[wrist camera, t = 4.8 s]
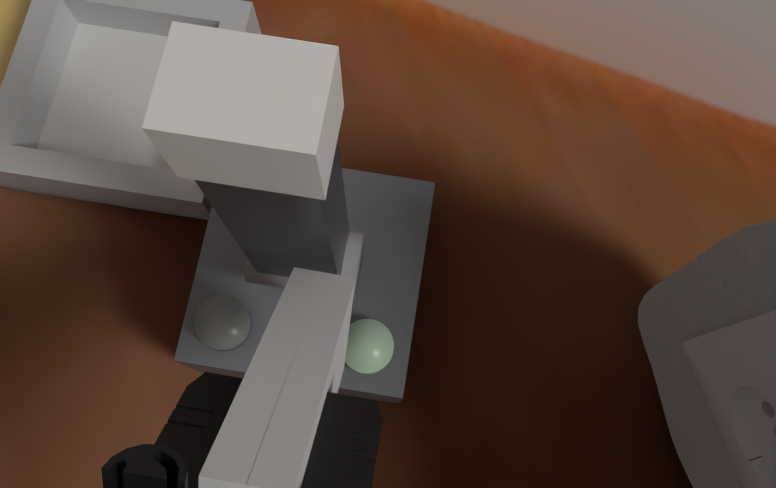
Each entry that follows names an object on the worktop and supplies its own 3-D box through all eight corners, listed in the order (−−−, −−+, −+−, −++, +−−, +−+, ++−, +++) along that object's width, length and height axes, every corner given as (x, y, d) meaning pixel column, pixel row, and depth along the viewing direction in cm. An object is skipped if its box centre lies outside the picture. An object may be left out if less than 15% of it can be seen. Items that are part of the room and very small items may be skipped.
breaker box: (198, 370, 24) (167, 358, 20) (242, 183, 26) (221, 142, 22) (399, 404, 23) (403, 396, 20) (428, 212, 25) (436, 175, 22)
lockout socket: (-64, 177, 25) (-99, 155, 24) (5, -6, 28) (-23, -39, 26) (215, 221, 25) (201, 203, 23) (261, 33, 27) (252, 2, 26)
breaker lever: (252, 289, 21) (124, 128, 10) (265, 228, 22) (157, 16, 11) (354, 305, 21) (331, 159, 10) (365, 244, 22) (354, 45, 11)
